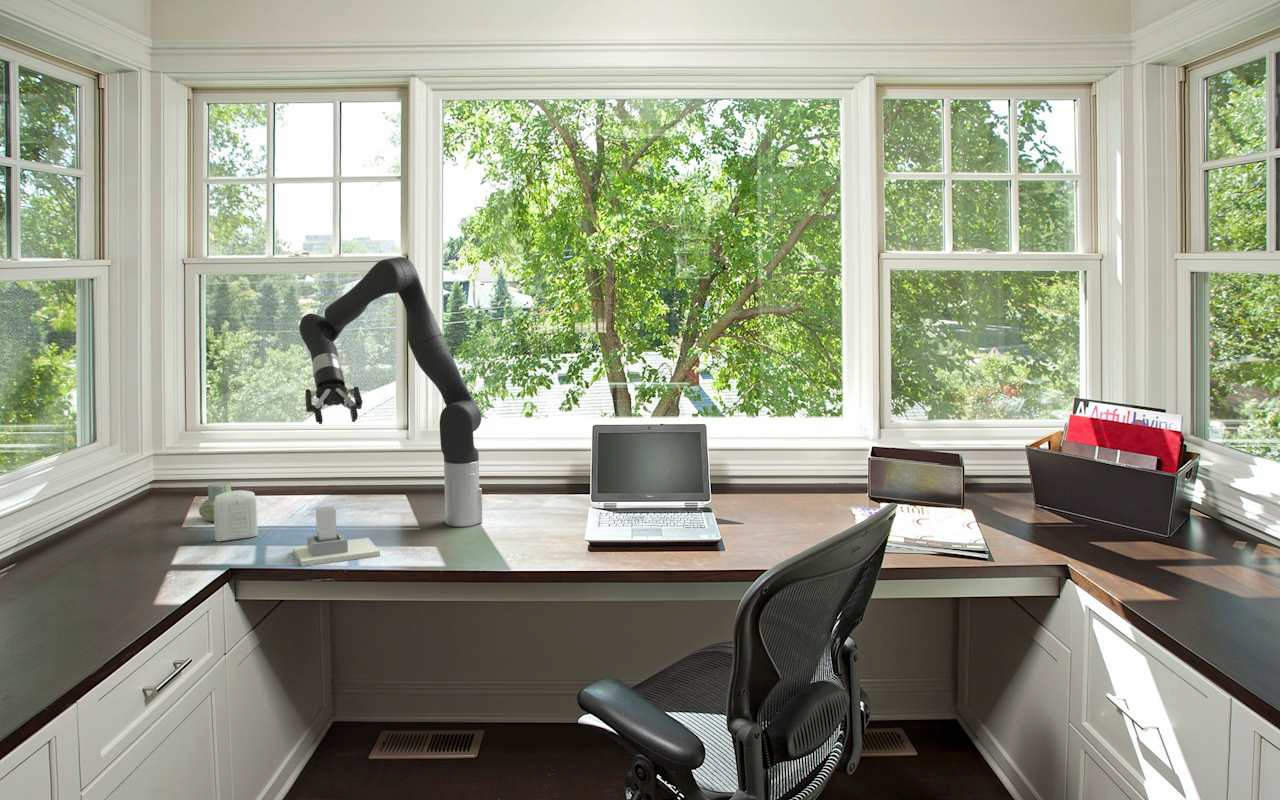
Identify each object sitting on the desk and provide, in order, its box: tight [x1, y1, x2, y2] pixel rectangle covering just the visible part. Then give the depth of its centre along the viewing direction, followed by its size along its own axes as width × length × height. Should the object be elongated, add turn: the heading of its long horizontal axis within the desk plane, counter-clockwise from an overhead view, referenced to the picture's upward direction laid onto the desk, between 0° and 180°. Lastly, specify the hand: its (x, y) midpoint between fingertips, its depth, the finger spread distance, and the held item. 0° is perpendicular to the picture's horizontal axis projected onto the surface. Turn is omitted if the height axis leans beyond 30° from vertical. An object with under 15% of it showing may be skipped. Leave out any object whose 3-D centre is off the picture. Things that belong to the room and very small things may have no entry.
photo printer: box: [213, 489, 259, 542], centre depth 247 cm, size 10×4×12 cm, turn 123°
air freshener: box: [198, 481, 232, 523], centre depth 266 cm, size 11×8×10 cm
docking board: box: [292, 531, 381, 567], centre depth 234 cm, size 18×13×4 cm
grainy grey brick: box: [315, 506, 337, 542], centre depth 233 cm, size 4×4×10 cm
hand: (337, 421), depth 255 cm, fingers open, 8 cm apart
